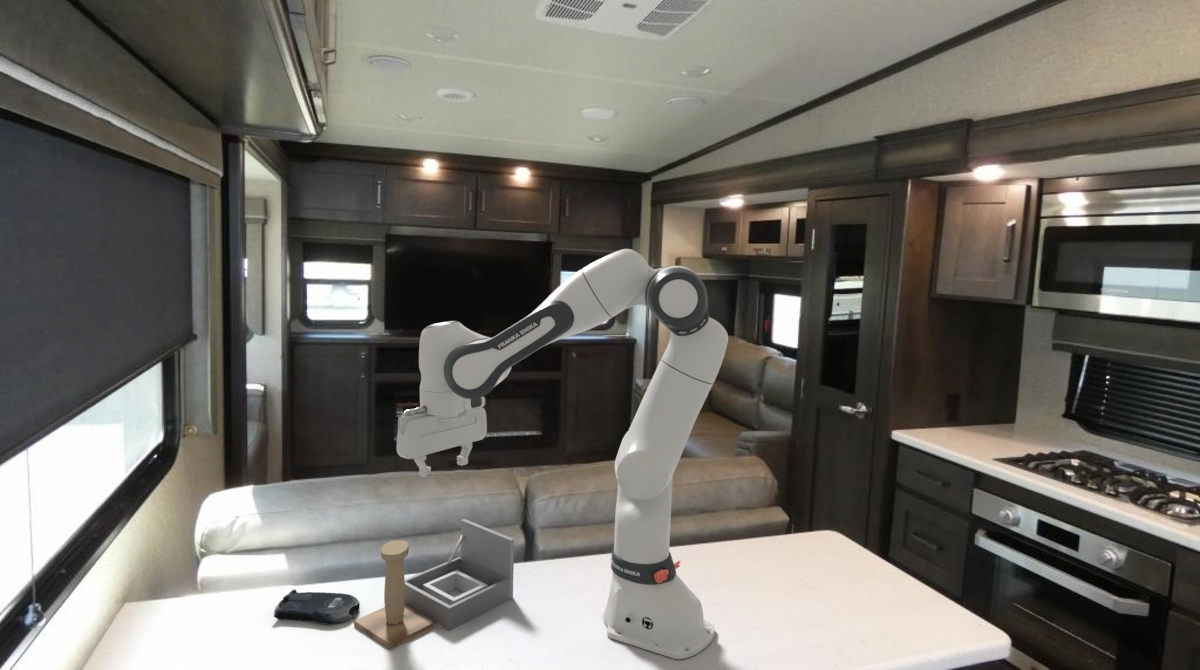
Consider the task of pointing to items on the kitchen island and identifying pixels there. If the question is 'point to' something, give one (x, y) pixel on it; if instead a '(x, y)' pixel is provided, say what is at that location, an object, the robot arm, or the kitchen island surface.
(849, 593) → the kitchen island surface
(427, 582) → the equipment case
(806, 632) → the kitchen island surface
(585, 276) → the robot arm
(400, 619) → the handle
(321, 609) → the electronic device
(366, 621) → the walnut pad
